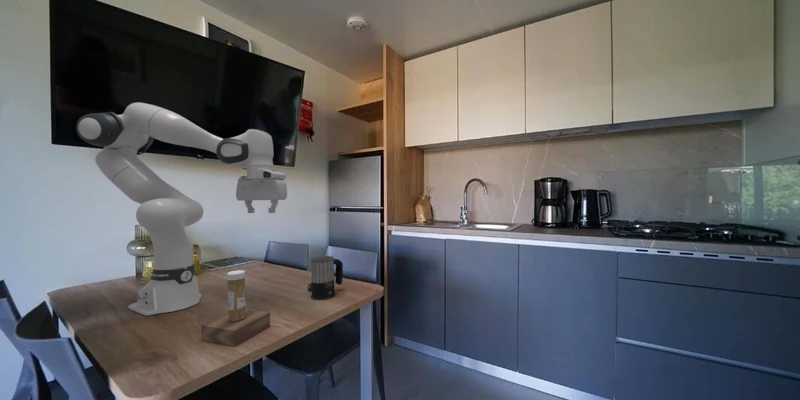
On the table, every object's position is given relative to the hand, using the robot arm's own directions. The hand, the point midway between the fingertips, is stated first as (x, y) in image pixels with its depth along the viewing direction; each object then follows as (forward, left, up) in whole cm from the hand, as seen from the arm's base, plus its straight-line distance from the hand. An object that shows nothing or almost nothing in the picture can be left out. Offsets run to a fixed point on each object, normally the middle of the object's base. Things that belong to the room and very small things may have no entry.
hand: (261, 213), depth 103 cm
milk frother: (+13, +16, -33) cm, 39 cm away
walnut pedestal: (+10, -20, -33) cm, 40 cm away
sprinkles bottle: (+10, -20, -29) cm, 37 cm away
